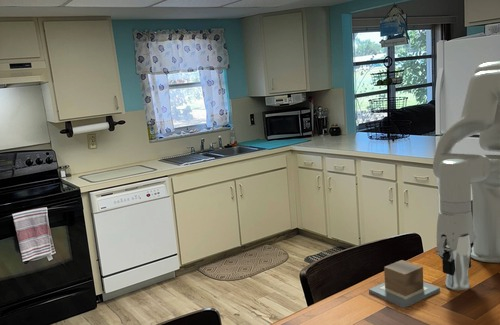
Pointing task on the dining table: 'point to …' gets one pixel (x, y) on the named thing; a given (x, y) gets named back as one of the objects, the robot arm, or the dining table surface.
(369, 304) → the dining table surface
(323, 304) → the dining table surface
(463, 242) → the metal cup
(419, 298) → the board
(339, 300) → the dining table surface
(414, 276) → the walnut block
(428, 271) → the dining table surface
